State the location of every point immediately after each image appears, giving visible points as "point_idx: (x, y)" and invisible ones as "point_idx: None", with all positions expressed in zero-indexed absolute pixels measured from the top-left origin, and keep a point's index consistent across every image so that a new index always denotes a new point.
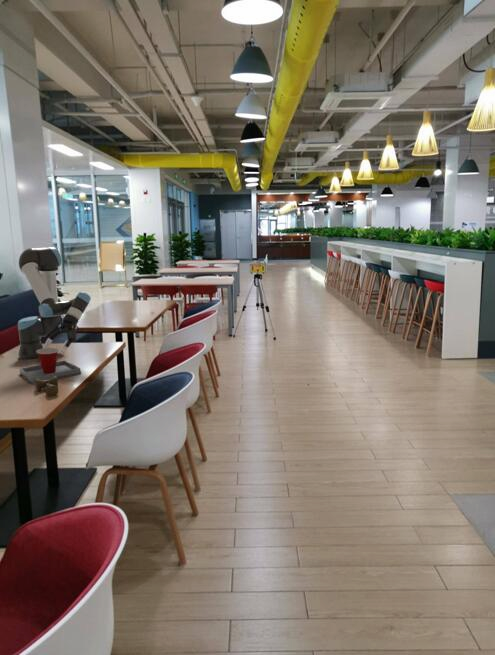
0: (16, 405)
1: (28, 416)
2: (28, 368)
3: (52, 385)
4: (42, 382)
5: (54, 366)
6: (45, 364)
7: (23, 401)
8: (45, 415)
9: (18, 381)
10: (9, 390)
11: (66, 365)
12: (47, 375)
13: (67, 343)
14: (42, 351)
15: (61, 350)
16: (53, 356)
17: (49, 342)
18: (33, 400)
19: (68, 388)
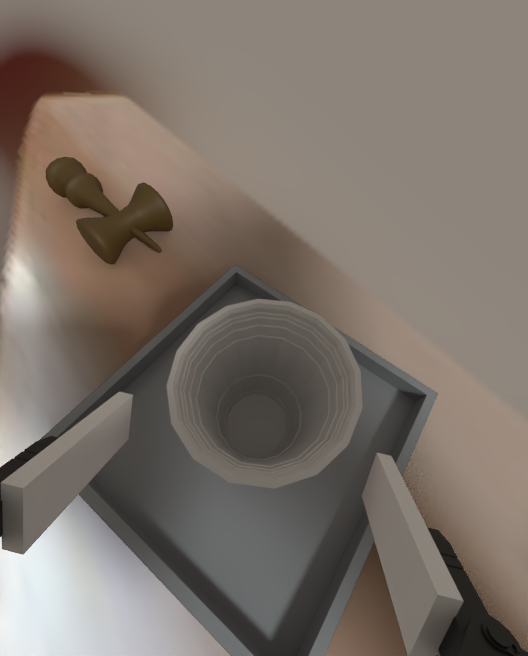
0: (151, 142)
1: (78, 103)
2: (409, 427)
3: (68, 178)
4: (130, 202)
5: (217, 414)
6: (249, 363)
7: (149, 160)
8: (36, 106)
9: (322, 304)
10: (267, 223)
11: (244, 626)
12: (187, 309)
13: (28, 460)
14: (341, 412)
15: (117, 393)
16: (196, 373)
17: (399, 571)
18: (122, 165)
19: (44, 248)
